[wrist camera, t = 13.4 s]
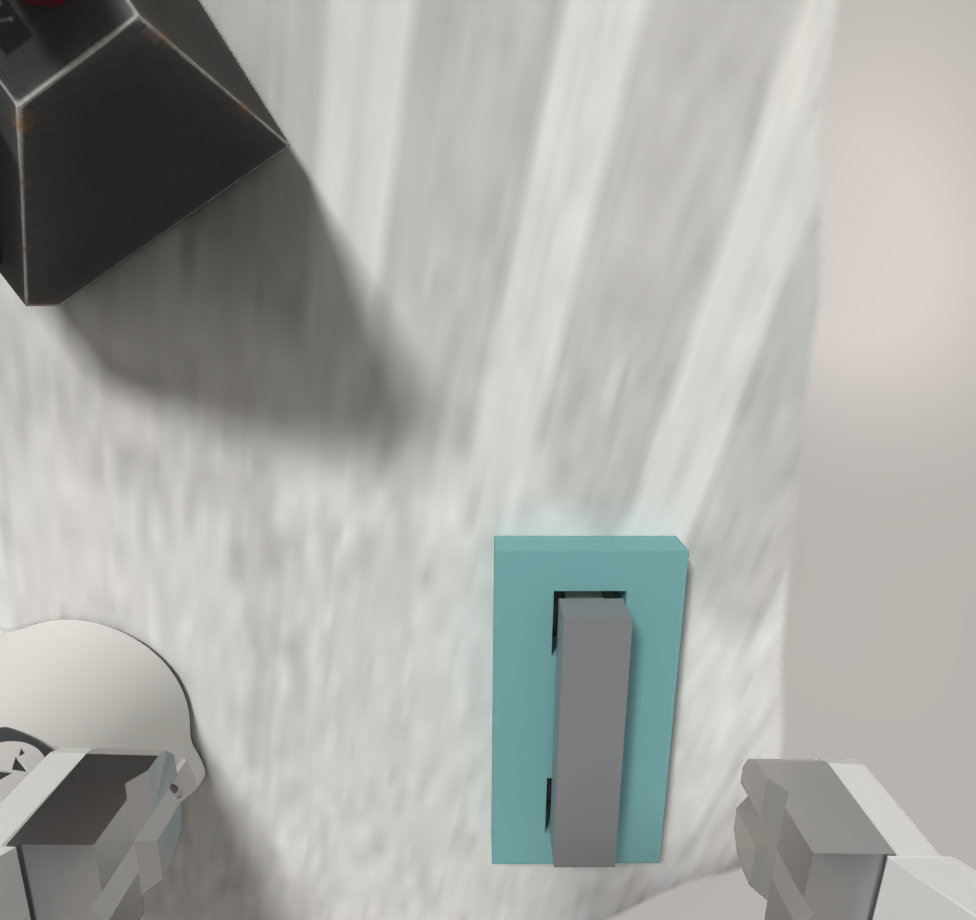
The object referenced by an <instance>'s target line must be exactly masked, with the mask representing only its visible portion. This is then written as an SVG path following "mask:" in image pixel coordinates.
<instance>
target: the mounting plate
mask: <svg viewBox="0 0 976 920" xmlns="http://www.w3.org/2000/svg"><path fill="white" fill-rule="evenodd" d="M688 557H689V550H688V549H687V548H686V547H685V546H684V545H683V543H682V542H681V541H680V540H679V539H678V538H677V536H494V622H493V725H492V828H491V837H492V864H553V857H552V849H551V842H550V810H551V804H546V792H547V778H552V758H553V733H554V707H555V681H556V655H557V636H552V628H553V601H554V591H617V596H616V598H623V600H624V602H625V604H626V606H627V608H628V610H629V612H630V614H631V616H632V618H633V623H632V636H631V650H630V664H629V678H628V691H627V705H626V719H625V733H624V747H623V760H622V774H621V788H620V802H619V815H618V829H617V843H616V857H615V863H659V862H660V851H661V841H662V830H663V820H664V809H665V799H666V788H667V778H668V767H669V757H670V746H671V736H672V725H673V715H674V704H675V694H676V683H677V673H678V662H679V652H680V641H681V631H682V620H683V610H684V599H685V589H686V578H687V568H688Z"/></svg>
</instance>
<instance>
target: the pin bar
mask: <svg viewBox="0 0 976 920" xmlns="http://www.w3.org/2000/svg"><path fill="white" fill-rule="evenodd" d="M632 623H633V618H632V616H631V614H630V612H629V610H628V608H627V606H626V604H625V602H624V600H623V598H604V597H603V594H602V592H601V591H564V599H559V603H558V629H557V655H556V681H555V707H554V733H553V758H552V784H551V810H550V842H551V849H552V857H553V864H554V867H615V857H616V843H617V829H618V815H619V802H620V788H621V774H622V760H623V747H624V733H625V719H626V705H627V691H628V678H629V664H630V650H631V636H632Z"/></svg>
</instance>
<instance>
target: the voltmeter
mask: <svg viewBox="0 0 976 920" xmlns="http://www.w3.org/2000/svg"><path fill="white" fill-rule="evenodd" d="M288 146H289V143H288V142H287V140H286V139H285V137H284V135H283V134H282V132H281V131H280V129H279V127H278V126H277V124H276V123H275V121H274V120H273V118H272V116H271V115H270V113H269V112H268V110H267V108H266V107H265V105H264V104H263V102H262V101H261V99H260V97H259V96H258V94H257V93H256V91H255V89H254V88H253V86H252V85H251V83H250V82H249V80H248V78H247V77H246V75H245V74H244V72H243V70H242V69H241V67H240V66H239V64H238V62H237V61H236V59H235V58H234V56H233V55H232V53H231V51H230V50H229V48H228V47H227V45H226V43H225V42H224V40H223V39H222V37H221V36H220V34H219V32H218V31H217V29H216V28H215V26H214V24H213V23H212V21H211V20H210V18H209V16H208V15H207V13H206V12H205V10H204V9H203V7H202V5H201V4H200V2H199V1H198V0H0V273H1V274H2V276H3V277H4V278H5V280H6V281H7V282H8V283H9V285H10V286H11V287H12V288H13V290H14V291H15V292H16V294H17V295H18V296H19V297H20V299H21V300H22V301H23V303H24V304H25V305H26V306H59V305H61V304H62V303H64V302H65V301H66V300H68V299H69V298H71V297H72V296H74V295H75V294H77V293H78V292H79V291H81V290H82V289H84V288H85V287H87V286H88V285H89V284H91V283H92V282H94V281H95V280H97V279H98V278H100V277H101V276H102V275H104V274H105V273H107V272H108V271H110V270H111V269H112V268H114V267H115V266H117V265H118V264H120V263H121V262H123V261H124V260H125V259H127V258H128V257H130V256H131V255H133V254H134V253H135V252H137V251H138V250H140V249H141V248H143V247H144V246H146V245H147V244H148V243H150V242H151V241H153V240H154V239H156V238H157V237H158V236H160V235H161V234H163V233H164V232H166V231H167V230H169V229H170V228H171V227H173V226H174V225H176V224H177V223H179V222H180V221H181V220H183V219H184V218H186V217H187V216H189V215H190V214H192V213H193V212H194V211H196V210H197V209H199V208H200V207H202V206H203V205H204V204H206V203H207V202H209V201H210V200H212V199H213V198H215V197H216V196H217V195H219V194H220V193H222V192H223V191H225V190H226V189H227V188H229V187H230V186H232V185H233V184H235V183H236V182H237V181H239V180H240V179H242V178H243V177H245V176H246V175H247V174H249V173H250V172H252V171H253V170H255V169H256V168H258V167H259V166H260V165H262V164H263V163H265V162H266V161H268V160H269V159H270V158H272V157H273V156H275V155H276V154H278V153H279V152H280V151H282V150H283V149H285V148H286V147H288Z"/></svg>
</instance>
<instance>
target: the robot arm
mask: <svg viewBox="0 0 976 920" xmlns="http://www.w3.org/2000/svg"><path fill="white" fill-rule="evenodd" d="M204 778H205V768H204V765H203V763H202V761H201V758H200V757H199V755H198V753H197V751H196V749H195V747H194V746H193V744H192V741H191V735H190V717H189V710H188V705H187V702H186V698H185V695H184V693H183V690H182V688H181V686H180V684H179V682H178V681H177V679H176V677H175V676H174V674H173V673H172V671H171V670H170V669H169V668H168V666H167V665H166V664H165V663H164V662H163V661H162V660H161V659H160V658H159V657H158V656H157V655H156V654H155V653H154V652H153V651H152V650H150V649H149V648H148V647H146V646H145V645H144V644H142V643H141V642H139V641H138V640H136V639H134V638H133V637H131V636H129V635H127V634H125V633H123V632H121V631H118V630H116V629H114V628H111V627H108V626H105V625H101V624H97V623H93V622H87V621H80V620H55V621H47V622H42V623H38V624H34V625H31V626H28V627H25V628H22V629H19V630H14V631H9V632H4V631H0V920H140V919H141V917H142V915H143V914H144V907H143V899H142V895H143V894H144V893H145V892H147V891H148V890H149V889H151V888H152V887H153V886H154V885H156V884H157V883H158V882H160V881H161V880H162V879H163V877H164V876H165V874H166V872H167V870H168V868H169V866H170V864H171V862H172V860H173V858H174V855H175V852H176V848H177V845H178V842H179V839H180V835H181V826H182V808H181V802H182V801H183V800H184V799H186V798H187V797H188V796H189V795H191V794H192V793H193V792H194V791H195V790H196V789H197V788H198V786H199V785H200V784H201V782H202V781H203V780H204ZM173 784H175V785H176V786H175V785H173ZM741 784H742V786H743V788H744V790H745V792H746V793H747V795H748V797H747V798H746V799H745V800H744V801H743V802H742V803H741V804H740V805H739V806H738V807H737V808H736V816H735V825H734V832H735V840H736V849H737V853H738V857H739V860H740V863H741V867H742V869H743V871H744V874H745V876H746V878H747V880H748V882H749V885H750V886H751V887H752V888H754V889H755V890H756V891H757V892H758V893H759V894H761V895H762V896H763V897H764V898H765V899H766V900H768V902H767V908H766V914H765V919H766V920H976V871H975V870H973V869H972V868H970V867H969V866H967V865H965V864H964V863H962V862H960V861H959V860H957V859H955V858H954V857H941V856H940V855H939V854H938V852H937V851H936V850H935V849H934V848H933V846H932V845H931V844H930V843H929V842H928V840H927V839H926V838H925V837H924V836H923V834H922V833H921V832H920V831H919V830H918V828H916V826H915V825H914V824H913V823H912V821H911V820H910V819H909V818H908V817H907V815H906V814H905V813H904V812H903V811H902V809H901V808H900V807H899V806H898V805H897V804H896V802H895V801H894V800H893V799H892V798H891V796H890V795H889V794H888V793H887V792H886V790H885V789H884V788H883V787H882V786H881V785H880V783H879V782H878V781H877V780H876V779H875V777H874V776H873V775H872V774H871V773H870V771H869V770H868V769H867V768H866V767H865V766H864V765H863V764H862V763H861V762H859V761H857V760H856V759H854V758H831V759H830V758H829V759H828V758H820V759H819V758H818V759H817V760H815V759H748V760H747V761H746V763H745V765H744V766H743V771H742V776H741Z"/></svg>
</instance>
